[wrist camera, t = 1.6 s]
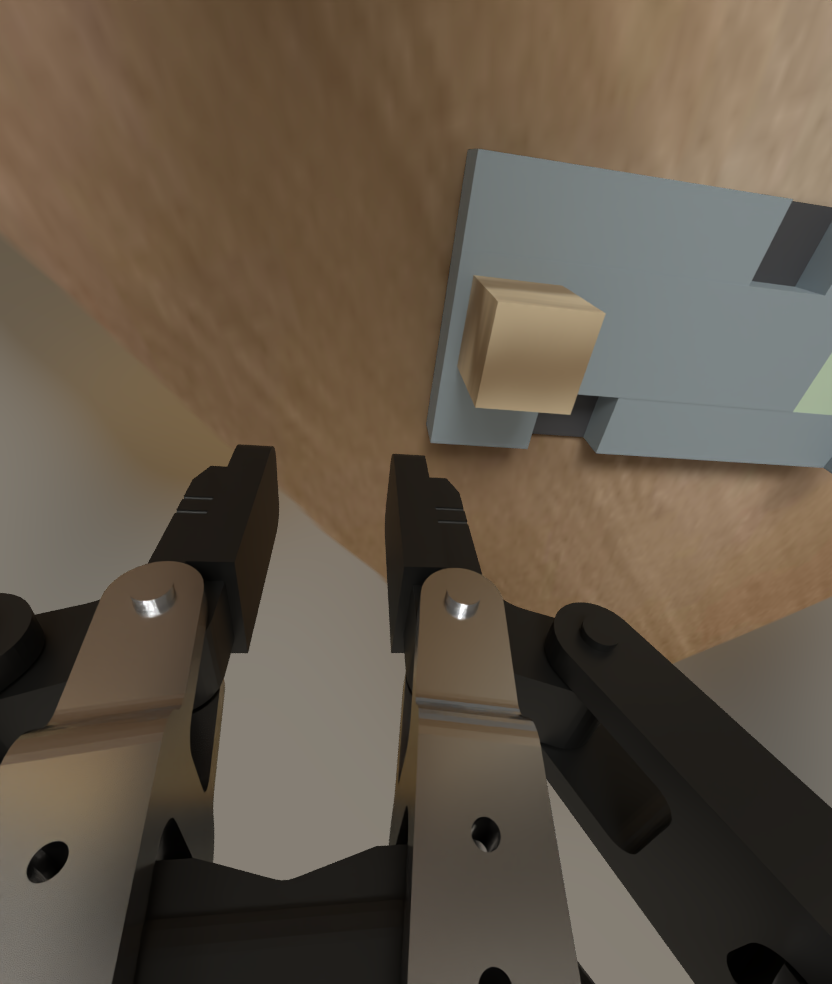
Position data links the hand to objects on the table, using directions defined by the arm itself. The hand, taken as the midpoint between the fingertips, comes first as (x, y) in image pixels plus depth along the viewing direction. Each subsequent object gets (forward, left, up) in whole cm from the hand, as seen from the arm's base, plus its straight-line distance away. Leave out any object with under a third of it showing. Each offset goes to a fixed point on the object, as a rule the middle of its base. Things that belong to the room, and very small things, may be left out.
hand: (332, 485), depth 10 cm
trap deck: (0, +19, -17) cm, 26 cm away
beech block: (0, +8, -15) cm, 17 cm away
